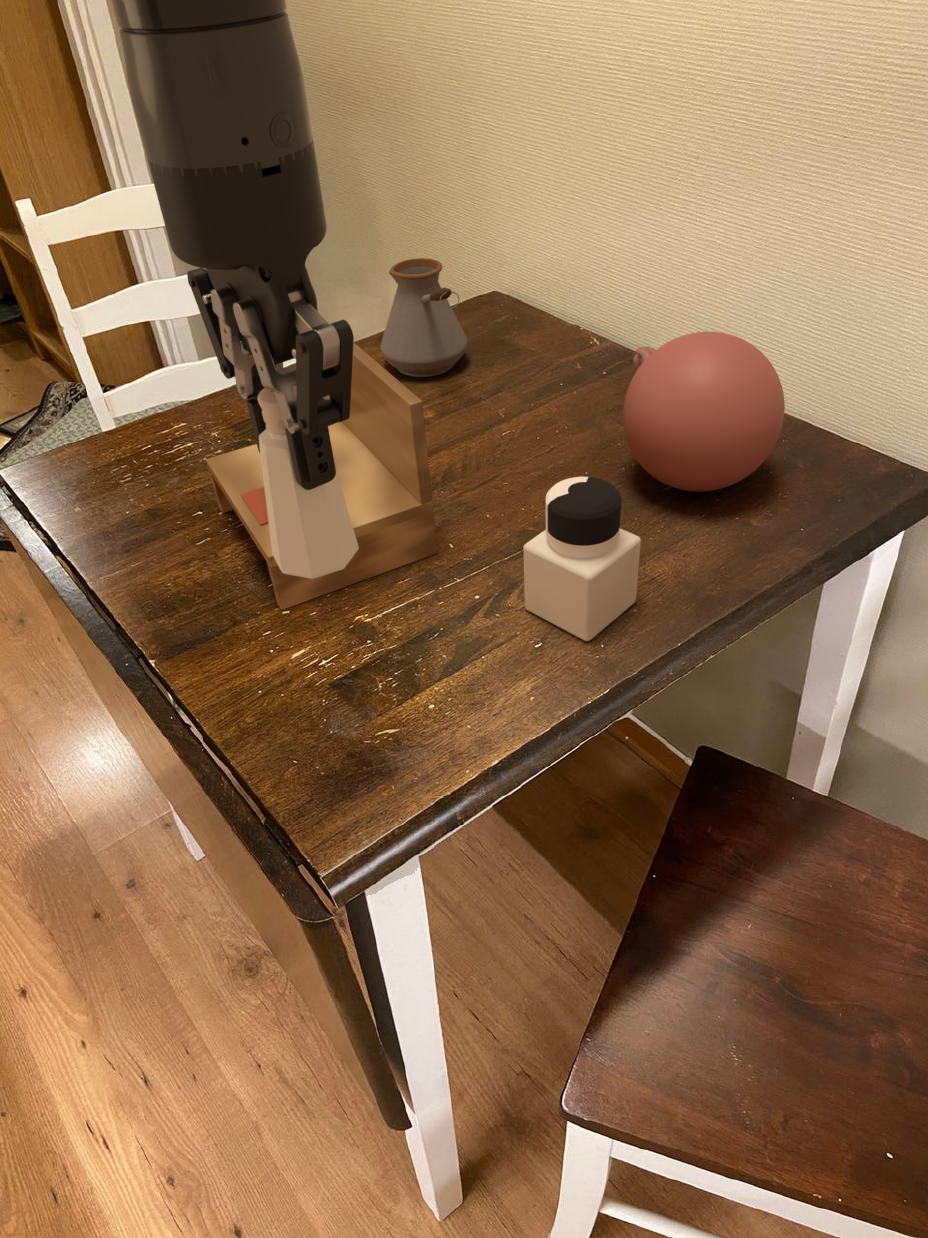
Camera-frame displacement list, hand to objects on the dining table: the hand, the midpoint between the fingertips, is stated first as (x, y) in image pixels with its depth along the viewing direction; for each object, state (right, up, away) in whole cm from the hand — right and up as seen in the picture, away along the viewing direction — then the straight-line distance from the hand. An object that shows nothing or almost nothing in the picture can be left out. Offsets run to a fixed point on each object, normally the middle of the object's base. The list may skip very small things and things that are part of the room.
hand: (297, 466), depth 51 cm
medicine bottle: (+20, -8, +27) cm, 34 cm away
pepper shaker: (0, -5, +4) cm, 6 cm away
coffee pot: (+6, +22, +63) cm, 67 cm away
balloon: (+33, +7, +43) cm, 55 cm away
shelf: (-5, 0, +38) cm, 39 cm away
